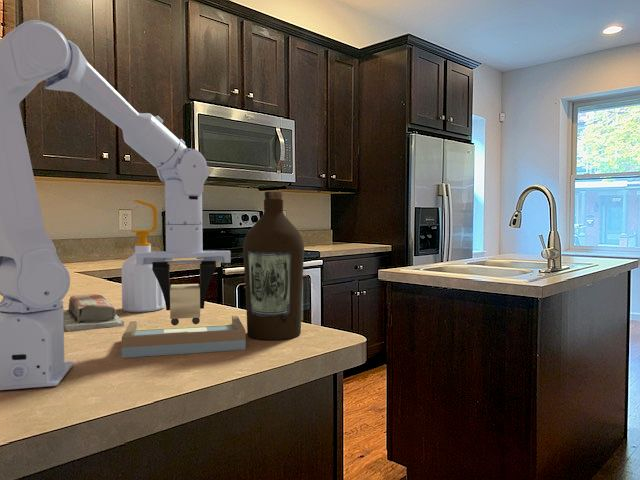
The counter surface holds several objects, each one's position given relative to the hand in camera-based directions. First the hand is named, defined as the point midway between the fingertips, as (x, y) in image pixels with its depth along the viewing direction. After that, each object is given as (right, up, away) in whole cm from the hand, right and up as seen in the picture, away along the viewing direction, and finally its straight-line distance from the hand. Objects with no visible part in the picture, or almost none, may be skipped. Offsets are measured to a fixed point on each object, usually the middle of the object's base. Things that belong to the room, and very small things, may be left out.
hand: (185, 308), depth 81 cm
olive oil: (+14, -6, +7) cm, 16 cm away
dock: (0, -6, 0) cm, 6 cm away
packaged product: (-24, -6, +19) cm, 32 cm away
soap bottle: (-18, -5, +32) cm, 37 cm away
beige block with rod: (0, -2, 0) cm, 2 cm away
